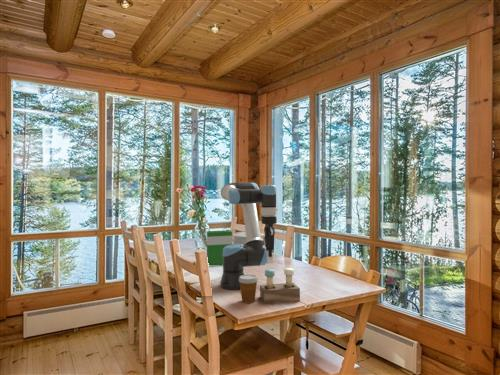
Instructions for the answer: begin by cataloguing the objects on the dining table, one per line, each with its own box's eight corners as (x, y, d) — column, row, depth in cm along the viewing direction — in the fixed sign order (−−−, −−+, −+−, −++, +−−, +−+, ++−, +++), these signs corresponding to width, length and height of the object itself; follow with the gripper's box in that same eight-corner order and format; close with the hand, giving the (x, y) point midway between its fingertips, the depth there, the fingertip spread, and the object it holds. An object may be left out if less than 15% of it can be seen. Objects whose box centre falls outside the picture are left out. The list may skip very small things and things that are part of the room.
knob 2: (283, 285, 175) (283, 268, 175) (292, 285, 176) (292, 267, 176) (285, 288, 170) (285, 270, 170) (295, 288, 171) (294, 270, 171)
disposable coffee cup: (235, 303, 167) (235, 278, 167) (243, 296, 176) (242, 273, 175) (254, 305, 163) (253, 280, 163) (260, 298, 172) (260, 275, 172)
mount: (260, 296, 176) (260, 285, 176) (293, 294, 179) (293, 282, 179) (264, 303, 166) (264, 290, 166) (300, 300, 169) (299, 288, 169)
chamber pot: (225, 256, 276) (225, 230, 276) (240, 250, 301) (239, 226, 301) (258, 258, 265) (257, 232, 265) (269, 252, 291) (269, 227, 290)
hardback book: (230, 262, 255) (230, 230, 254) (232, 264, 247) (232, 231, 247) (207, 263, 250) (206, 231, 250) (208, 266, 243) (207, 232, 243)
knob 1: (264, 287, 173) (263, 269, 173) (273, 286, 174) (273, 269, 174) (266, 290, 169) (266, 271, 168) (275, 289, 169) (275, 271, 169)
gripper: (279, 216, 165) (280, 265, 165) (273, 214, 178) (273, 259, 178) (264, 217, 164) (265, 266, 164) (259, 215, 177) (259, 260, 177)
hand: (269, 262), depth 171 cm, fingers closed
